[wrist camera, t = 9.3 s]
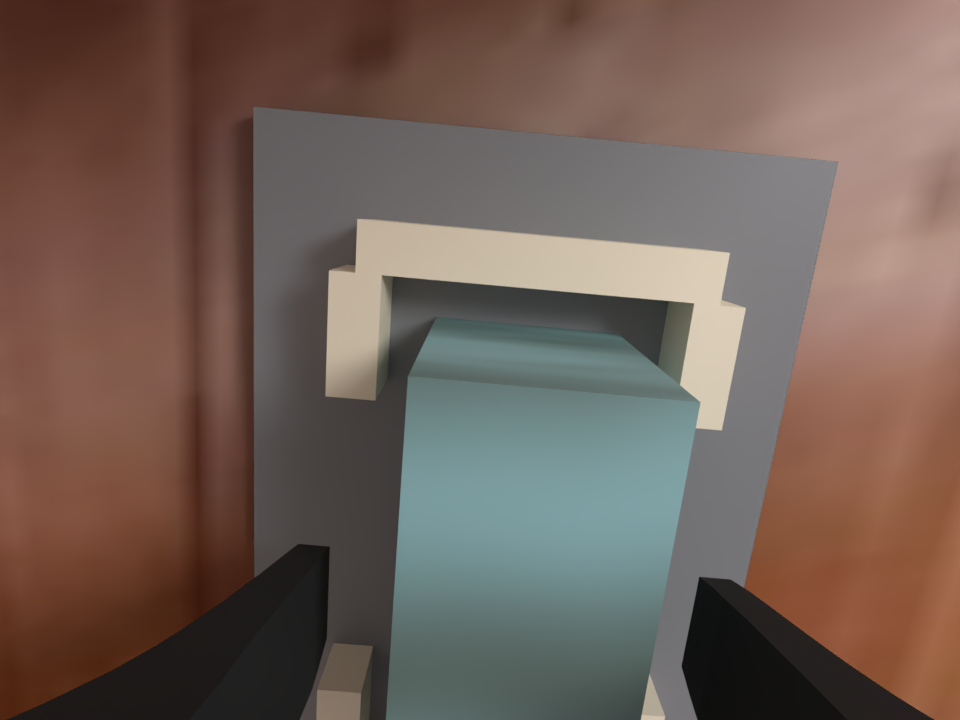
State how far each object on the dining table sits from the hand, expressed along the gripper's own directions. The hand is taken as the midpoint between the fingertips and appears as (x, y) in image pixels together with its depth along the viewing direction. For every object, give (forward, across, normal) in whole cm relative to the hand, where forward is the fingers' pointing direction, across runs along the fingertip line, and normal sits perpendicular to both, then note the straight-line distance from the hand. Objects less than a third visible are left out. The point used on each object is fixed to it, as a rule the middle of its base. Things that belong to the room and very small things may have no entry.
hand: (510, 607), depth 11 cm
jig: (+3, 0, 0) cm, 3 cm away
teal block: (+3, 0, 0) cm, 3 cm away
